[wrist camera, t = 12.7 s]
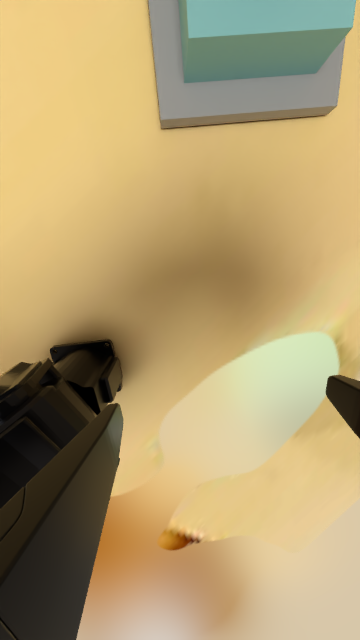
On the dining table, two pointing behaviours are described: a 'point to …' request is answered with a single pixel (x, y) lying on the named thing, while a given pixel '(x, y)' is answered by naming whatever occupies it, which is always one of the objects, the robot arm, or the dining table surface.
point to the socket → (247, 58)
